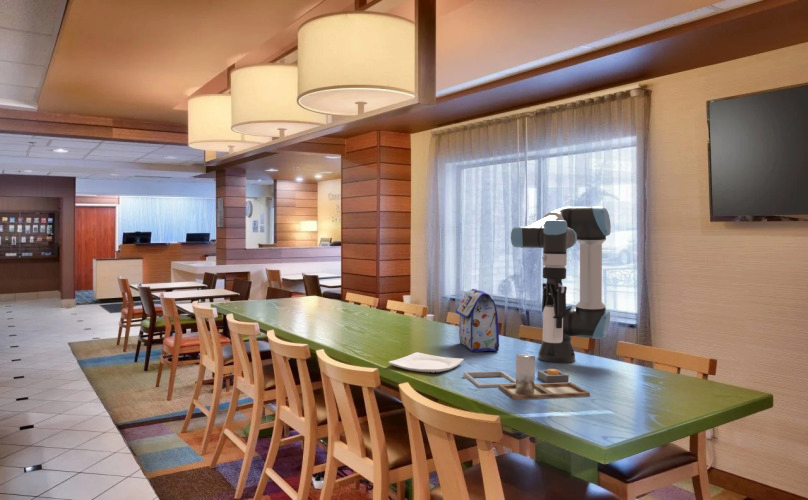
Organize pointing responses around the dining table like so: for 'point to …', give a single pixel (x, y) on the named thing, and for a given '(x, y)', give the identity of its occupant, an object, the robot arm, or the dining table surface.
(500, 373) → the grey rectangular frame
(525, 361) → the billet
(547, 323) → the can
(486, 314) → the lunch bag
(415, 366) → the plate
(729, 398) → the dining table surface
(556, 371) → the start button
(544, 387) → the divided wooden tray
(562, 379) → the grey square egg holder
